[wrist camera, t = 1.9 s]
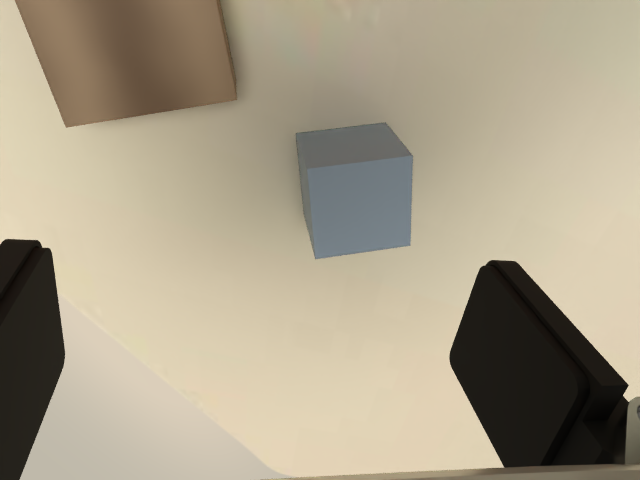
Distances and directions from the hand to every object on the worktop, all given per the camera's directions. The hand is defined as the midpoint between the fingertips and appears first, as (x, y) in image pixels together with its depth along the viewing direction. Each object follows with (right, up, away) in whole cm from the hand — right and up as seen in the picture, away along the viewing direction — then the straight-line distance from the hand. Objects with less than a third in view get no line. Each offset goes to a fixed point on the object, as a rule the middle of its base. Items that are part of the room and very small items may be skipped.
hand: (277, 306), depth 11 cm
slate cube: (+3, +6, +24) cm, 24 cm away
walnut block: (-9, +14, +17) cm, 24 cm away
